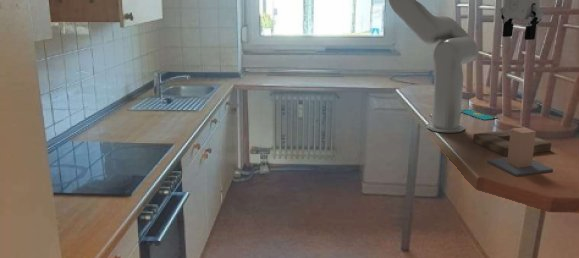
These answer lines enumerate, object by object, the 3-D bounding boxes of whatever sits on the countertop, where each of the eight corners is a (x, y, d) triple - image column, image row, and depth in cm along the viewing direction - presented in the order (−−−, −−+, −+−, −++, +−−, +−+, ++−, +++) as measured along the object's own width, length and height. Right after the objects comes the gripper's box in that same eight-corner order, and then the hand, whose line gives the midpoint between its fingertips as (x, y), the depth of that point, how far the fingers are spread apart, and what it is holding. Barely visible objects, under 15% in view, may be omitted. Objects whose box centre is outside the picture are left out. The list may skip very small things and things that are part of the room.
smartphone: (483, 119, 187) (457, 110, 200) (483, 121, 187) (457, 112, 201) (499, 117, 189) (472, 108, 203) (498, 119, 189) (472, 110, 203)
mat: (487, 161, 145) (487, 159, 144) (521, 157, 148) (522, 155, 148) (515, 176, 134) (515, 174, 133) (552, 170, 137) (553, 168, 136)
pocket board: (472, 141, 163) (473, 133, 163) (514, 136, 167) (515, 129, 167) (505, 156, 149) (506, 148, 148) (550, 150, 153) (551, 143, 152)
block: (507, 162, 142) (510, 128, 139) (520, 160, 143) (524, 127, 140) (517, 167, 138) (521, 133, 135) (531, 165, 139) (535, 131, 136)
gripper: (494, -20, 155) (489, 36, 160) (534, -21, 139) (528, 41, 144) (514, -21, 157) (509, 35, 162) (557, -21, 141) (549, 40, 146)
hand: (518, 38), depth 153 cm, fingers open, 9 cm apart
